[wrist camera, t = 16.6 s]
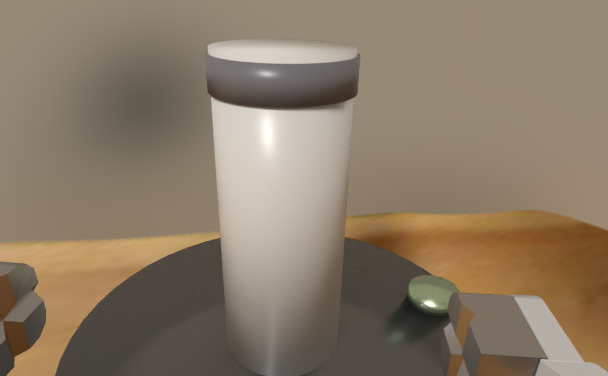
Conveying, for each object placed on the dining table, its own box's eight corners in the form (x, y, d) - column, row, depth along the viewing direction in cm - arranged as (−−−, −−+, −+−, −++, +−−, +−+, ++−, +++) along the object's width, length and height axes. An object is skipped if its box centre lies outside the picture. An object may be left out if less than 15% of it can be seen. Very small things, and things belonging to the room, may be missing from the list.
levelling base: (438, 286, 28) (447, 230, 26) (576, 694, 12) (624, 616, 10) (165, 269, 29) (158, 215, 28) (-58, 622, 13) (-109, 541, 11)
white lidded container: (340, 300, 21) (357, 41, 16) (340, 384, 17) (365, 59, 12) (238, 293, 22) (225, 37, 17) (211, 374, 17) (182, 53, 12)
